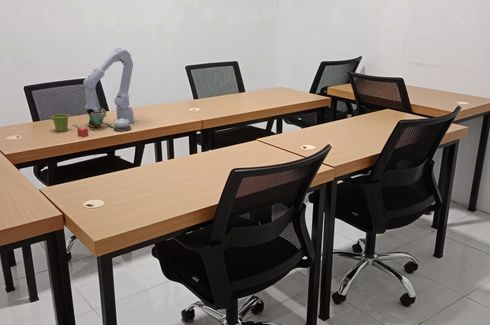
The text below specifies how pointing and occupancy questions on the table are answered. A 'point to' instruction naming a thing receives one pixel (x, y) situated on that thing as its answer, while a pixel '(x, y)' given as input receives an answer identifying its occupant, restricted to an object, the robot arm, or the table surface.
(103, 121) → the game lane
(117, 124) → the dome
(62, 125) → the plant pot
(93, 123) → the food container
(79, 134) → the red die
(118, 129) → the dark grey disc
